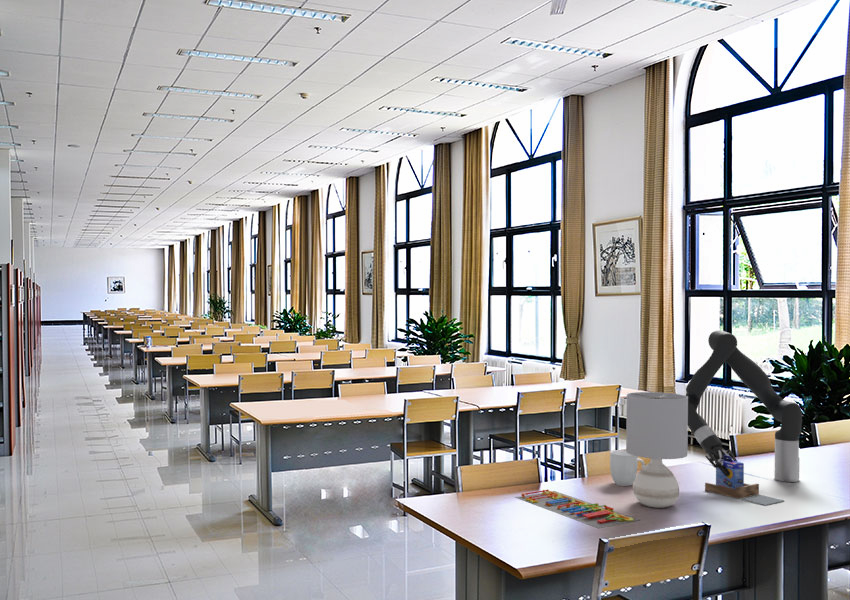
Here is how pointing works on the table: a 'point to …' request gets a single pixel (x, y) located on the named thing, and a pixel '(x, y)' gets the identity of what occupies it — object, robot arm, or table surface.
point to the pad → (762, 500)
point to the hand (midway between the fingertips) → (733, 474)
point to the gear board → (577, 509)
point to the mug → (623, 467)
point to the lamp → (656, 443)
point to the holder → (734, 490)
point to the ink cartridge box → (731, 474)
